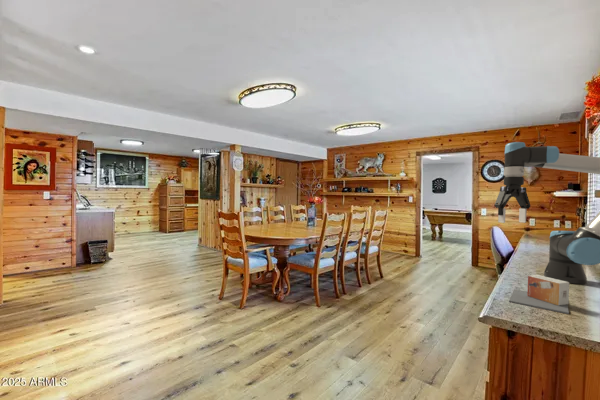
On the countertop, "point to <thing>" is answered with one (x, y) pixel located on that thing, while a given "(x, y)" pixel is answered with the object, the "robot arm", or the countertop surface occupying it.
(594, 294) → the countertop surface
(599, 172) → the robot arm
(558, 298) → the small box
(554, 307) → the slate mat
